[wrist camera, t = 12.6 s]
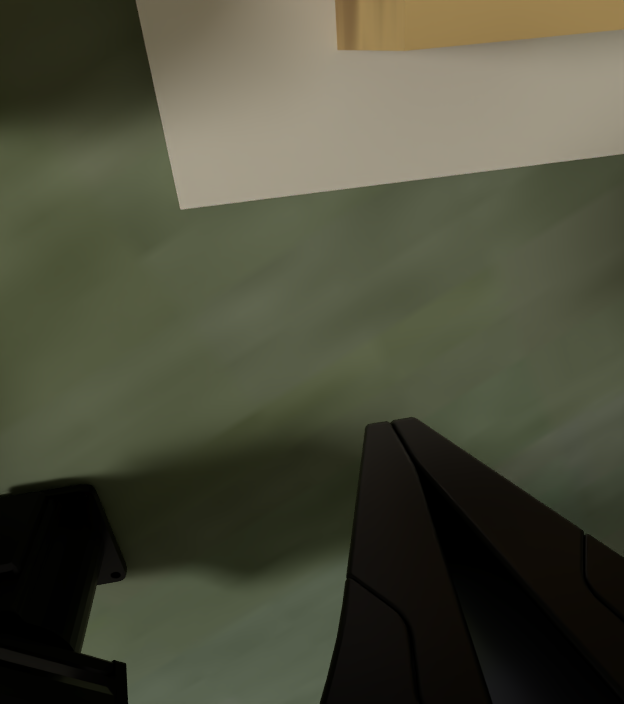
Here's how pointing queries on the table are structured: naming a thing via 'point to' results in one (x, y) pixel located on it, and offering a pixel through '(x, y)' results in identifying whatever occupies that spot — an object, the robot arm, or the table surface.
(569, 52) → the base board
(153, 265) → the table surface
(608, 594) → the robot arm
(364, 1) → the taped shipping carton
